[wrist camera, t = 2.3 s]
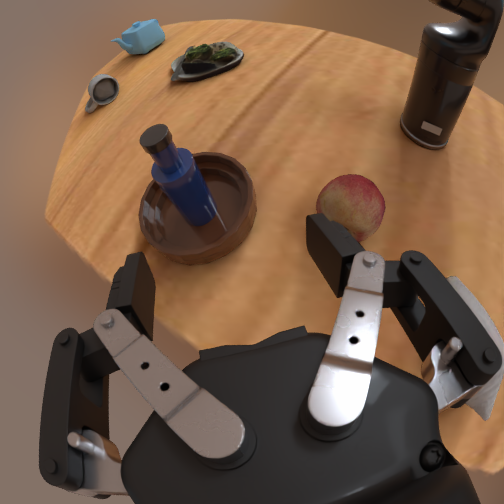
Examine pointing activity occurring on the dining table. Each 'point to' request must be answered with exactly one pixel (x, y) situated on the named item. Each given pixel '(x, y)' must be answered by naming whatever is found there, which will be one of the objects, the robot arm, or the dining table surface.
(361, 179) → the fruit
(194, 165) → the soy bottle
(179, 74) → the salad plate
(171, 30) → the dining table surface
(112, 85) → the ceramic mug
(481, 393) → the seashell
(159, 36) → the teapot
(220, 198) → the bowl
